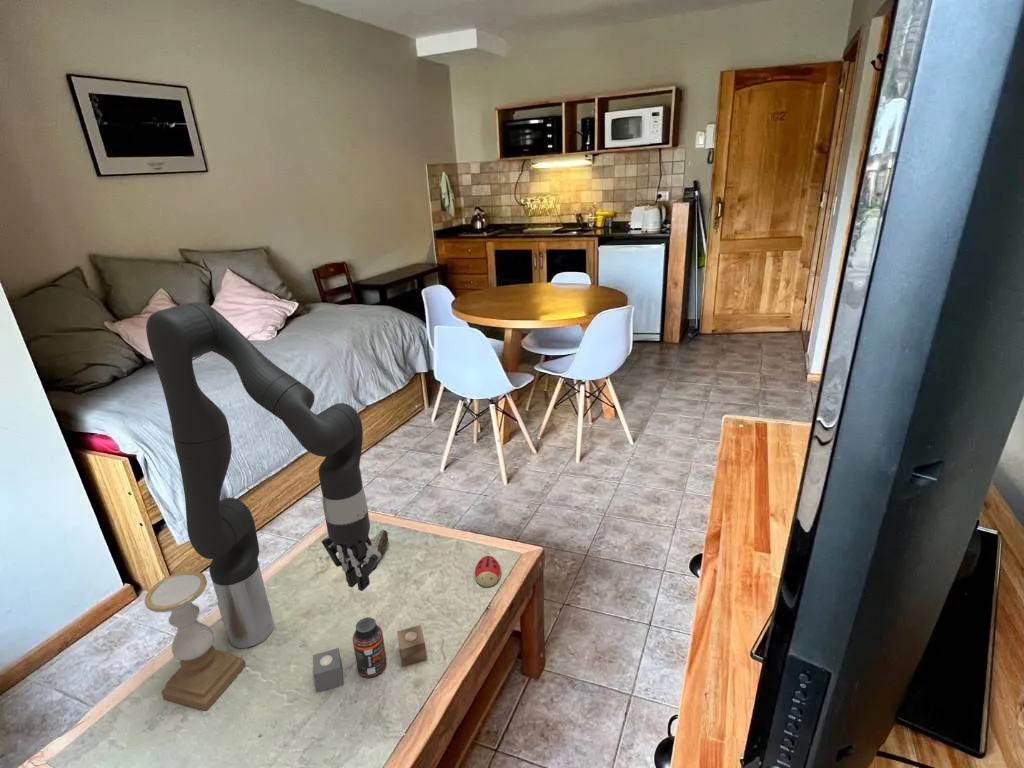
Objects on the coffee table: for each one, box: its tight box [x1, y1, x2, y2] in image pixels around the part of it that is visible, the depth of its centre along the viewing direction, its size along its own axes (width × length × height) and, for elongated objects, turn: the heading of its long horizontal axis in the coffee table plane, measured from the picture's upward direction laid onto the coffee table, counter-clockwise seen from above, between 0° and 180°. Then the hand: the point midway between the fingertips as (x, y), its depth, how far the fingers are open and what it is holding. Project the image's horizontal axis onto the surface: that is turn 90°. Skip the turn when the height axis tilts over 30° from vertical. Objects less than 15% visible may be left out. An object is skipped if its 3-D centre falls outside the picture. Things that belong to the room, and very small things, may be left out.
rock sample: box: [370, 529, 389, 551], centre depth 145 cm, size 10×8×9 cm
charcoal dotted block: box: [312, 647, 344, 694], centre depth 109 cm, size 5×5×5 cm
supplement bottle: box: [352, 616, 387, 678], centre depth 111 cm, size 6×6×11 cm
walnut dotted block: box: [396, 624, 428, 668], centre depth 114 cm, size 5×5×5 cm
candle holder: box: [144, 570, 246, 711], centre depth 106 cm, size 11×11×24 cm
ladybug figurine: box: [474, 555, 502, 588], centre depth 137 cm, size 7×10×4 cm
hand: (358, 585), depth 105 cm, fingers closed
